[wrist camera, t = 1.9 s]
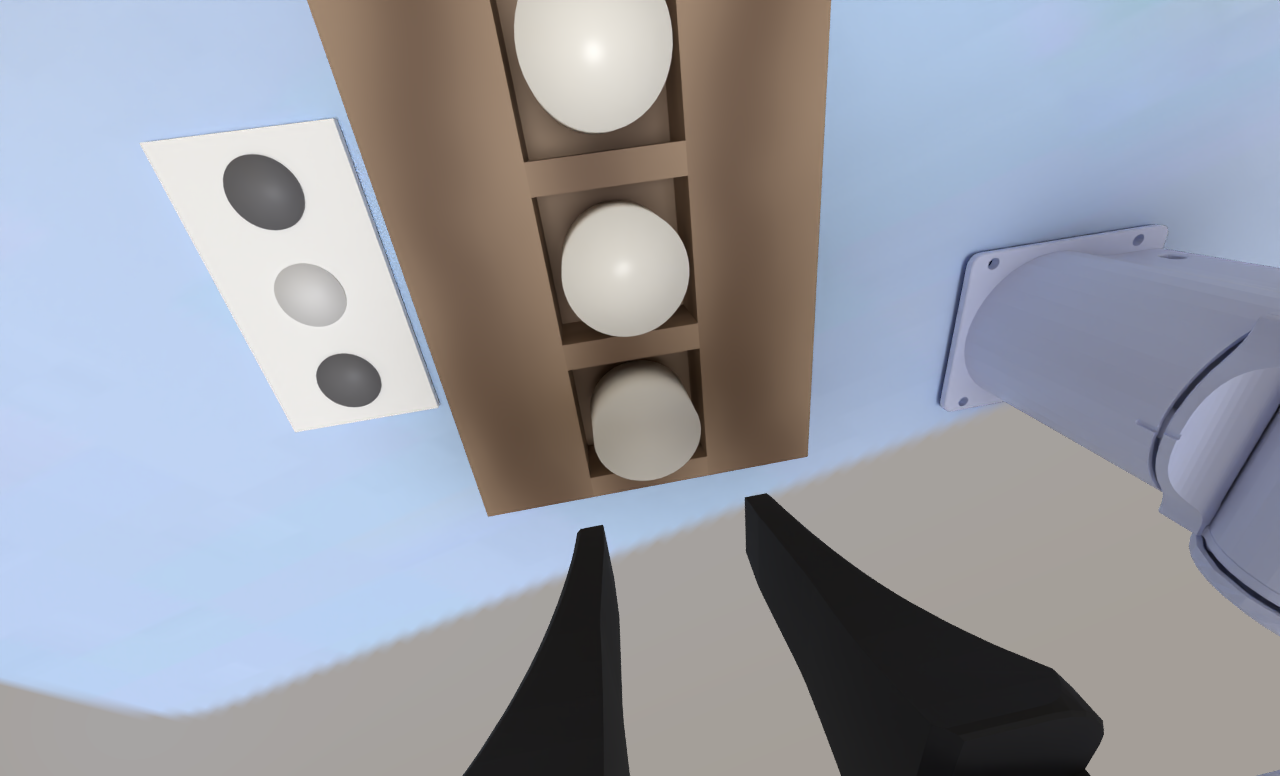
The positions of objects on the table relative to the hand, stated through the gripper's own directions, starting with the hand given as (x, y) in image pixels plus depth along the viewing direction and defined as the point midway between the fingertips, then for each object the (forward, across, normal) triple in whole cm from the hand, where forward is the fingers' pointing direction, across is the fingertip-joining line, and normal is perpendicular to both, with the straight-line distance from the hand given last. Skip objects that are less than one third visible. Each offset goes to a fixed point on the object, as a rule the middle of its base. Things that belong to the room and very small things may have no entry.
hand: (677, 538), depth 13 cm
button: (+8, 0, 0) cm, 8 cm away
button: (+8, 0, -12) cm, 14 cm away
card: (+10, +12, -6) cm, 16 cm away
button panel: (+10, 0, -6) cm, 12 cm away
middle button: (+8, 0, -6) cm, 10 cm away
